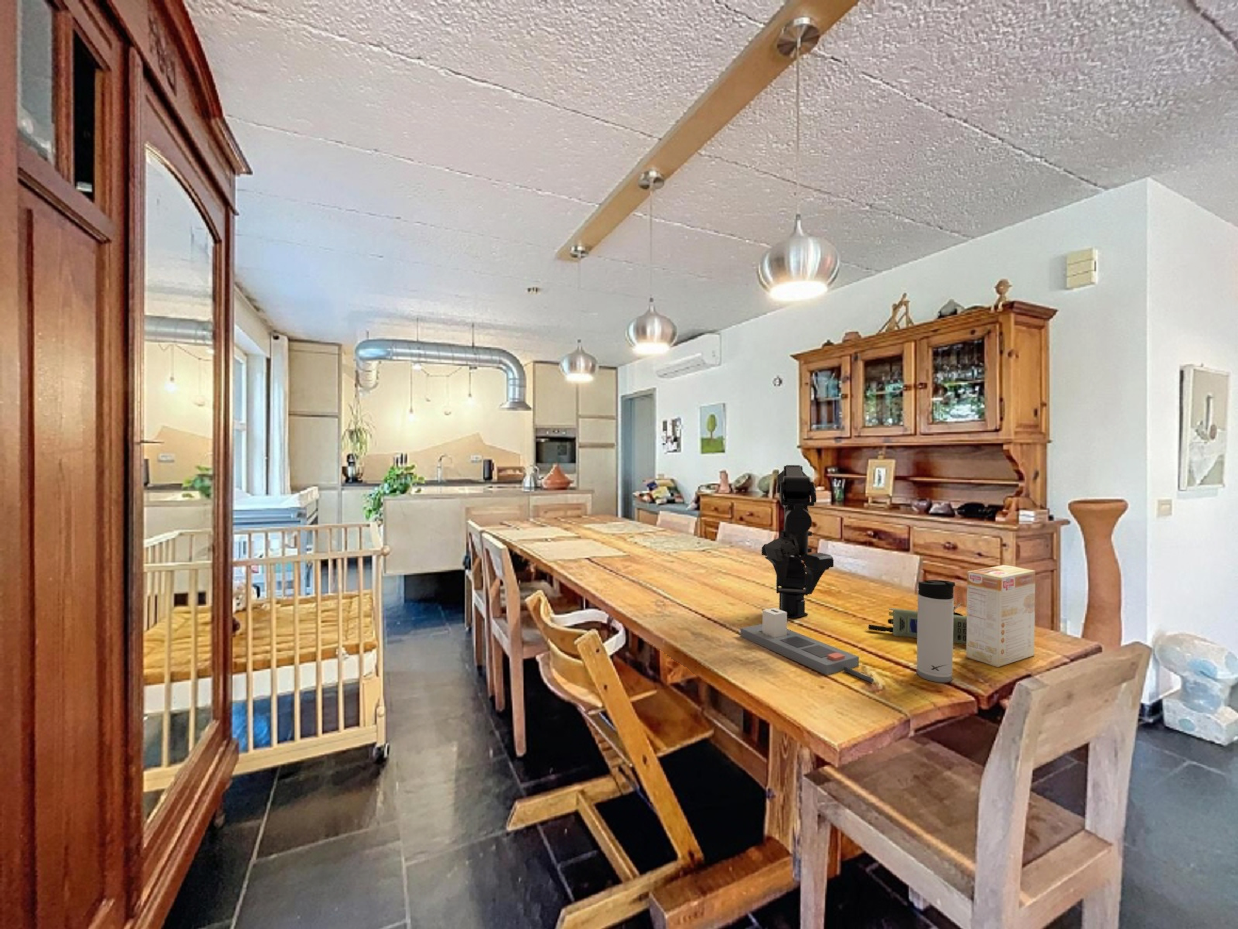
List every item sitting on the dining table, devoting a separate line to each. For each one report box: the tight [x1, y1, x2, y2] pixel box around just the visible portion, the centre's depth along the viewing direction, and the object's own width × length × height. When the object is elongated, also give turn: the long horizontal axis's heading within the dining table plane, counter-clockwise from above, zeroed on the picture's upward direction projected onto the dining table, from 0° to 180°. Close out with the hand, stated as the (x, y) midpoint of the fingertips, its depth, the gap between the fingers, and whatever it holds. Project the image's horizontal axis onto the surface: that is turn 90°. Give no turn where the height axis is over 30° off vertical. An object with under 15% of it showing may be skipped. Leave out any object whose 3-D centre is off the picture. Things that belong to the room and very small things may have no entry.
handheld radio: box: [867, 607, 967, 645], centre depth 130 cm, size 7×3×25 cm
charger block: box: [762, 607, 788, 638], centre depth 127 cm, size 4×4×7 cm
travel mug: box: [916, 579, 956, 684], centre depth 107 cm, size 6×7×20 cm
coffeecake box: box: [965, 564, 1036, 668], centre depth 118 cm, size 15×7×20 cm, turn 117°
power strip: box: [740, 623, 874, 683], centre depth 119 cm, size 33×10×3 cm, turn 29°
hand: (795, 589), depth 131 cm, fingers open, 9 cm apart
